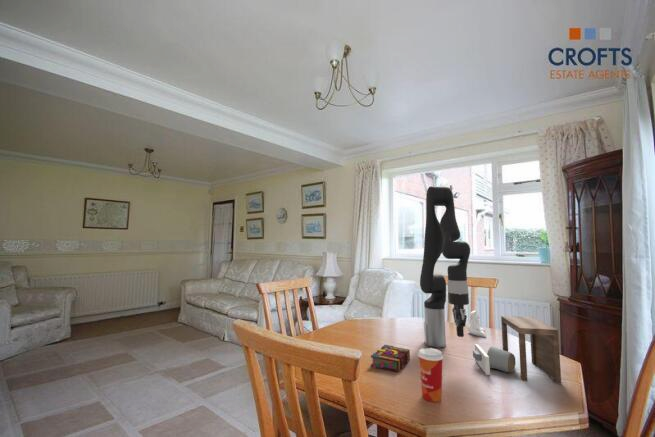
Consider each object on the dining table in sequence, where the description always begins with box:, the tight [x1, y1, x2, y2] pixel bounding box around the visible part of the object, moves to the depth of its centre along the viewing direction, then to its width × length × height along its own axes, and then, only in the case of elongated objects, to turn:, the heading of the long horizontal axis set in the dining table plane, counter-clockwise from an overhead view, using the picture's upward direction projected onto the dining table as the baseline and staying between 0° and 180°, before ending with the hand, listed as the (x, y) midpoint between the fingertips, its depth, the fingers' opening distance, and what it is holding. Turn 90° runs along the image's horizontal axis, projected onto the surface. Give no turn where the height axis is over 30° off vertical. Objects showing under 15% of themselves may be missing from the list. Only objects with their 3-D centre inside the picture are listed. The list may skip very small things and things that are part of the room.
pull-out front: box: [472, 343, 491, 376], centre depth 117 cm, size 3×14×6 cm, turn 169°
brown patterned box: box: [370, 344, 411, 373], centre depth 121 cm, size 11×16×5 cm
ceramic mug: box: [486, 346, 516, 373], centre depth 116 cm, size 11×8×8 cm
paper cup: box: [417, 347, 444, 403], centre depth 95 cm, size 8×8×14 cm
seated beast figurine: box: [467, 310, 487, 338], centre depth 160 cm, size 10×9×12 cm
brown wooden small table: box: [500, 315, 562, 384], centre depth 114 cm, size 12×18×18 cm, turn 169°
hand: (460, 336), depth 119 cm, fingers closed
